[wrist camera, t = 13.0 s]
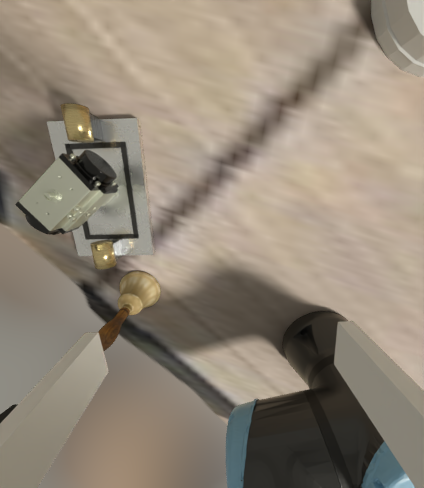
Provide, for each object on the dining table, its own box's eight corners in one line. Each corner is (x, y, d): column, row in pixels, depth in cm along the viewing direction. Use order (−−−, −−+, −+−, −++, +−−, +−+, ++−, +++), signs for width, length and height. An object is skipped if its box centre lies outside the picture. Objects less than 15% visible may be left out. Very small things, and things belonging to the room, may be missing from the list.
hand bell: (148, 313, 43) (111, 387, 27) (113, 294, 41) (52, 359, 26) (168, 284, 40) (138, 346, 25) (131, 263, 39) (76, 314, 24)
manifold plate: (155, 254, 39) (143, 268, 32) (83, 255, 39) (58, 270, 33) (139, 117, 32) (120, 101, 26) (53, 120, 32) (13, 105, 26)
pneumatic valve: (70, 203, 35) (-2, 213, 23) (117, 156, 32) (62, 141, 21) (95, 227, 36) (37, 249, 24) (141, 184, 33) (102, 185, 22)
